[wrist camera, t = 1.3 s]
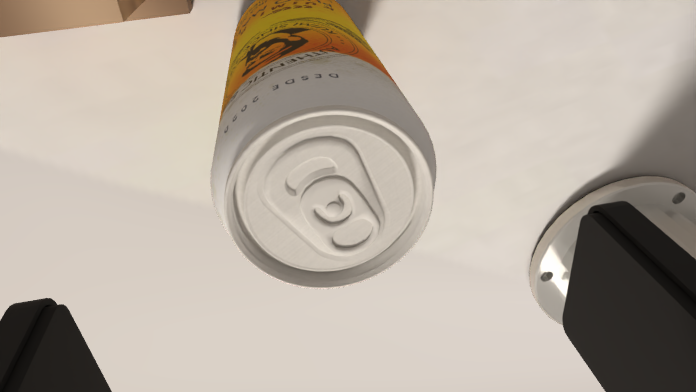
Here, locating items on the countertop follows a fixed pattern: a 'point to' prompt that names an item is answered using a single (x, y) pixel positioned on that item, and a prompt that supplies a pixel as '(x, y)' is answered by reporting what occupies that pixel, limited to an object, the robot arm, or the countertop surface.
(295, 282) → the beer can
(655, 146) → the countertop surface
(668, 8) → the countertop surface
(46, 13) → the holder
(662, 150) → the countertop surface
